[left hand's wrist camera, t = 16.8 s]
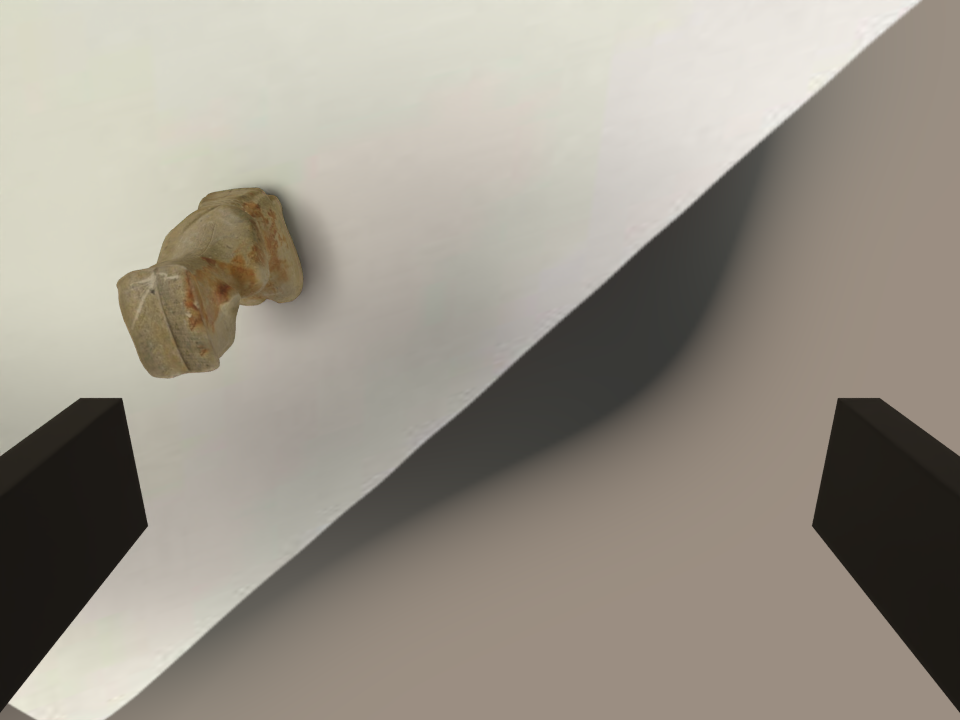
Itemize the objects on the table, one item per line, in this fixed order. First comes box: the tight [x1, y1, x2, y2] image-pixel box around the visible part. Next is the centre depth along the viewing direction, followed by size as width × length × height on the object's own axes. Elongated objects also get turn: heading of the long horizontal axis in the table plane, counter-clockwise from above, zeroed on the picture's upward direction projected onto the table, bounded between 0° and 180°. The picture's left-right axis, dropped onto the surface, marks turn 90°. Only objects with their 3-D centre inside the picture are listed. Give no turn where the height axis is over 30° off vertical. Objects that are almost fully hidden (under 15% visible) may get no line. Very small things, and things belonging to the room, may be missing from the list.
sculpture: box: [117, 188, 303, 378], centre depth 35 cm, size 6×7×15 cm
